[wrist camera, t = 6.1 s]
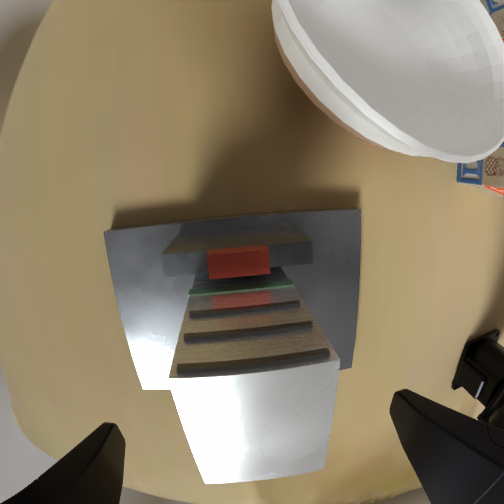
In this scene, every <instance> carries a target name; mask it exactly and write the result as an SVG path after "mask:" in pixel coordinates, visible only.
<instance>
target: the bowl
mask: <svg viewBox="0 0 504 504" xmlns="http://www.w3.org/2000/svg"><path fill="white" fill-rule="evenodd" d="M271 10H272V24H273V31H274V37H275V42H276V44H277V47H278V49H279V52H280V54H281V57H282V60H283V62H284V64H285V65H286V67H287V68H288V70H289V72H290V73H291V75H292V77H293V78H294V80H295V82H296V83H297V84H298V86H299V87H300V88H301V89H302V90H303V91H304V93H305V94H306V95H307V96H308V97H309V99H310V100H311V101H312V102H313V103H314V105H316V106H317V107H318V108H319V109H320V110H321V111H322V112H324V113H325V114H326V115H327V116H328V117H329V118H330V119H331V120H332V121H333V122H335V123H336V124H338V125H339V126H341V127H342V128H344V129H345V130H347V131H348V132H350V133H351V134H352V135H354V136H355V137H357V138H359V139H361V140H364V141H366V142H368V143H370V144H372V145H374V146H376V147H379V148H383V149H386V150H390V151H394V152H397V153H403V154H407V155H410V156H424V157H434V158H437V159H440V160H443V161H445V162H456V163H470V162H474V161H478V160H482V159H484V158H485V157H487V156H488V155H490V154H491V153H493V152H494V151H496V150H497V149H498V148H499V146H500V145H501V144H502V142H503V141H504V42H503V40H502V38H501V35H500V33H499V31H498V29H497V27H496V25H495V23H494V22H493V20H492V18H491V17H490V15H489V13H488V12H487V10H486V9H485V7H484V6H483V4H482V3H481V2H480V0H272V7H271Z"/></svg>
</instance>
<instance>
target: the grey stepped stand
mask: <svg viewBox="0 0 504 504" xmlns="http://www.w3.org/2000/svg"><path fill="white" fill-rule="evenodd" d="M104 238H105V244H106V250H107V256H108V261H109V266H110V271H111V276H112V281H113V286H114V290H115V295H116V299H117V303H118V307H119V312H120V315H121V319H122V323H123V327H124V330H125V334H126V338H127V341H128V344H129V348H130V351H131V354H132V358H133V361H134V364H135V367H136V370H137V373H138V376H139V379H140V382H141V385H142V387H143V389H171V387H170V384H169V380H168V377H169V373H170V369H171V365H172V361H173V357H174V353H175V349H176V345H177V341H178V337H179V333H180V329H181V325H182V322H183V318H184V314H185V311H186V307H187V303H188V300H189V297H188V293H189V290H190V289H192V285H193V282H194V278H195V275H196V274H207V273H209V279H220V278H231V277H242V276H252V275H262V274H270V268H271V267H281V268H282V269H283V271H284V272H285V274H286V276H287V277H288V279H291V280H292V282H293V283H294V288H295V289H296V291H297V293H298V294H299V296H300V297H301V299H302V300H303V302H304V303H305V305H306V306H307V308H308V310H309V311H310V313H311V314H312V316H313V317H314V319H315V321H316V322H317V324H318V325H319V327H320V328H321V330H322V332H323V333H324V335H325V336H326V338H327V339H328V341H329V343H330V344H331V346H332V347H333V349H334V350H335V352H336V354H337V355H338V357H339V358H340V367H339V370H343V369H347V368H351V367H352V359H353V351H354V342H355V332H356V322H357V310H358V295H359V277H360V246H361V209H358V208H353V207H349V208H329V209H312V210H296V211H282V212H268V213H255V214H243V215H232V216H221V217H210V218H200V219H190V220H180V221H171V222H162V223H153V224H144V225H136V226H128V227H120V228H112V229H109V230H107V231H105V232H104Z"/></svg>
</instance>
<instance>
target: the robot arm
mask: <svg viewBox="0 0 504 504" xmlns="http://www.w3.org/2000/svg"><path fill="white" fill-rule="evenodd" d="M499 334H500V331H499V330H498V329H496V330H494V331H492V332H490V333H488V334H485V335H483V336H481V337H479V338H476V339H474V340H472V341H470V342H468V343H467V344H466V346H465V348H464V352H463V355H462V358H461V361H460V364H459V367H458V370H457V373H456V376H455V379H454V381H453V384H452V389H453V390H456V389H458V388H460V387H463V388H464V389H465V390H466V391H467V392H468V393H469V394H470V395H471V396H472V397H473V398H474V399H478V400H479V401H480V402H481V403H482V404H483V405H484V406H485V409H484V410H483V412H482V413H481V414H479V416H478V417H477V419H478V420H479V421H478V420H476V419H474V418H471V417H469V416H466V415H464V414H462V413H459V412H457V411H455V410H452V409H450V408H448V407H445V406H443V405H441V404H439V403H436V402H434V401H432V400H430V399H428V398H425V397H423V396H421V395H419V394H417V393H415V392H412V391H410V390H408V389H402V390H399V391H396V392H395V393H394V395H393V399H392V402H391V406H390V415H391V418H392V421H393V423H394V426H395V428H396V431H397V434H398V436H399V439H400V442H401V444H402V447H403V449H404V451H405V453H406V455H407V457H408V459H409V461H410V463H411V465H412V467H413V468H414V470H415V472H416V474H417V476H418V478H419V480H420V482H421V484H422V486H423V488H424V490H425V492H426V494H427V496H428V498H429V500H430V502H431V504H504V347H502V346H501V345H500V344H498V343H497V340H498V337H499ZM125 445H126V444H125V439H124V437H123V435H122V433H121V431H120V430H119V428H118V426H117V425H116V424H115V423H108V422H105V423H103V424H101V425H100V426H99V427H98V428H97V429H96V430H94V431H93V432H92V433H91V434H90V435H89V436H87V437H86V438H85V439H84V440H83V441H82V442H80V443H79V444H78V445H77V446H76V447H75V448H73V449H72V450H71V451H70V452H69V453H67V454H66V455H65V456H64V457H63V458H61V459H60V460H59V461H58V462H57V463H55V464H54V465H53V466H52V467H51V468H49V469H48V470H47V471H46V472H44V473H43V474H42V475H41V476H40V477H38V479H36V480H34V481H33V482H32V483H31V484H30V485H28V486H27V487H25V488H24V489H23V490H22V491H20V492H18V493H17V494H15V495H14V496H12V497H11V498H9V499H7V500H6V501H4V502H2V503H0V504H119V502H120V495H121V490H122V484H123V473H124V458H125Z"/></svg>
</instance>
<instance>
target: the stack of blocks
mask: <svg viewBox="0 0 504 504" xmlns="http://www.w3.org/2000/svg"><path fill="white" fill-rule="evenodd" d="M480 2H481V3H482V4H483V6H484V7H485V9H486V10H487V12H488V13H489V15H490V17H491V18H492V20H493V22H494V23H495V25H496V27H497V29H498V31H499V33H500V35H501V38H502V40H503V42H504V0H480ZM457 182H458V183H460V184H463V185H466V186H469V187H471V188H474V189H476V190H479V191H481V192H483V193H486V194H488V195H491V196H495V197H501V198H504V141H503V142H502V144H501V145H500V146H499V148H498V149H497V150H496V151H494V152H493V153H491V154H490V155H488V156H487V157H485V158H484V159H482V160H478V161H474V162H470V163H458V175H457Z"/></svg>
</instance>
